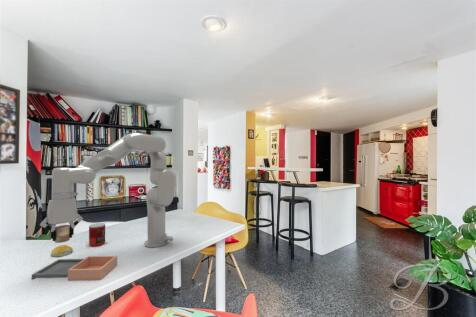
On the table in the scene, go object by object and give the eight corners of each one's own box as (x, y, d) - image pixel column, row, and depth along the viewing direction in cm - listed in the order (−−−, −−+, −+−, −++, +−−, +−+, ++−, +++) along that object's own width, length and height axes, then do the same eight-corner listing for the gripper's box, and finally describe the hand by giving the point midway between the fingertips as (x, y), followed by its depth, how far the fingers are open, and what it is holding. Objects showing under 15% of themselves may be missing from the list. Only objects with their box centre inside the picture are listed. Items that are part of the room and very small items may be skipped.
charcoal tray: (89, 262, 104) (89, 258, 104) (67, 278, 90) (67, 274, 90) (58, 263, 104) (58, 259, 104) (31, 279, 90) (31, 274, 90)
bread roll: (67, 249, 120) (67, 241, 120) (74, 253, 116) (75, 245, 116) (47, 254, 113) (48, 246, 113) (55, 258, 109) (55, 250, 109)
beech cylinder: (72, 238, 99) (72, 225, 99) (63, 242, 94) (64, 228, 94) (60, 238, 99) (60, 225, 99) (51, 242, 94) (51, 228, 94)
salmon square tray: (117, 265, 101) (117, 255, 101) (100, 281, 88) (100, 269, 88) (88, 266, 100) (88, 256, 100) (67, 281, 88) (67, 270, 88)
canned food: (97, 247, 122) (97, 227, 122) (85, 246, 124) (85, 226, 124) (108, 242, 130) (108, 223, 130) (96, 241, 131) (96, 222, 131)
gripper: (84, 193, 106) (83, 232, 106) (35, 197, 93) (34, 241, 93) (88, 195, 101) (87, 236, 100) (37, 199, 88) (36, 246, 88)
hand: (62, 238), depth 97 cm, fingers closed on beech cylinder, 4 cm apart
